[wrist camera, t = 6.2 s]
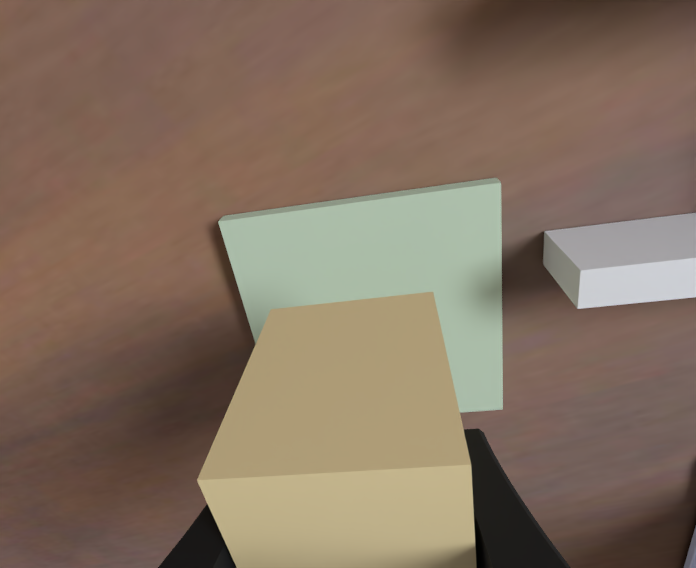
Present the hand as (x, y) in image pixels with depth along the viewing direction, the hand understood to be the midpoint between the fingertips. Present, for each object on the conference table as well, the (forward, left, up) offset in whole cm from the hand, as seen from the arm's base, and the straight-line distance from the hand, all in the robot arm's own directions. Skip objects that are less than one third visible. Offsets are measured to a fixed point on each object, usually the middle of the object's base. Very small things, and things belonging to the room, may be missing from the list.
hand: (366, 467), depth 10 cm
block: (0, 0, -2) cm, 2 cm away
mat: (0, 0, -7) cm, 7 cm away
